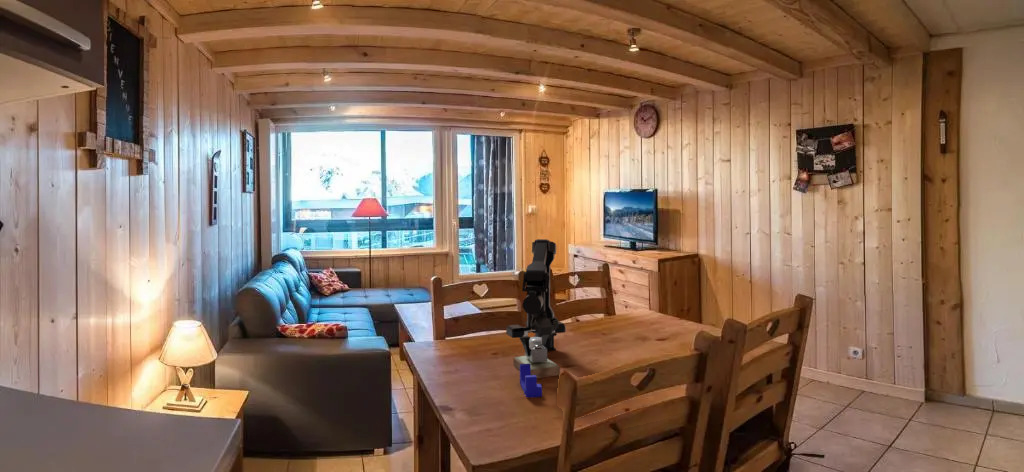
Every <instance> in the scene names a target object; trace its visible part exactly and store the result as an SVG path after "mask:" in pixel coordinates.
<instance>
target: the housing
mask: <svg viewBox="0 0 1024 472" xmlns="http://www.w3.org/2000/svg"><path fill="white" fill-rule="evenodd" d="M529 349H530V354H529V356H527V354H526V352H525V351H524V356H526V357H527V358H528V359H529V360H530V361H531V362H532V363H533V362H544V361H547V359H548V351H547V348H546V347H545V346H543V345H542V344H541V343H540V342H535V343H529Z"/></svg>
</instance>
